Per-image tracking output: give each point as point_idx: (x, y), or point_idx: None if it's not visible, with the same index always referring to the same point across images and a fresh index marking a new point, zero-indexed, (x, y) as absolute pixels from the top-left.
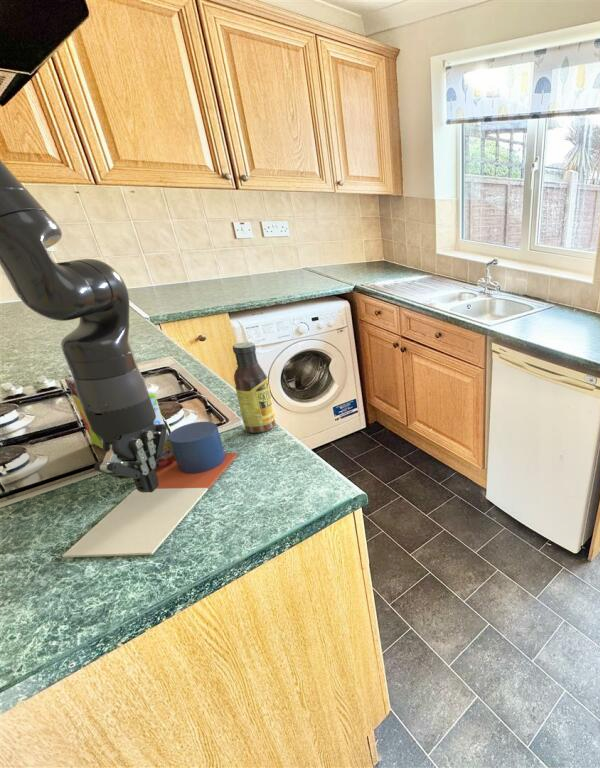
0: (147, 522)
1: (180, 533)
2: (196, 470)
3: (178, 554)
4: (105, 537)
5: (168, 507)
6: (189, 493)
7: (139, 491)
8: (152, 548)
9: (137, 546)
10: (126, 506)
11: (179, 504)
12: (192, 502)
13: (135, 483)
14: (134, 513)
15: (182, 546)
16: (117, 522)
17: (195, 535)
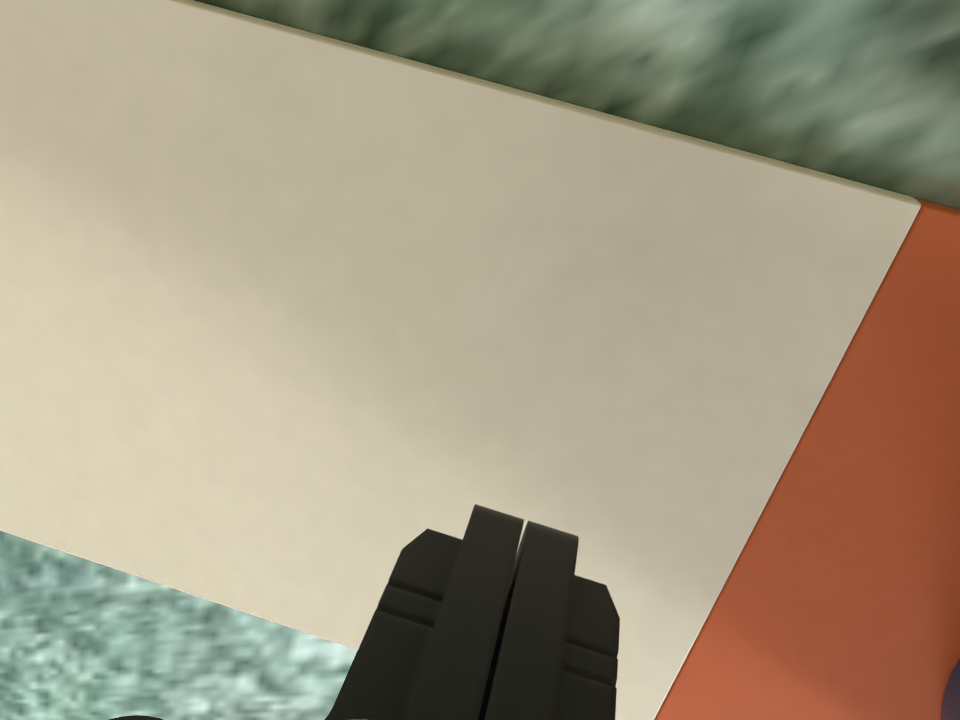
0: (282, 451)
1: (178, 618)
2: (957, 717)
3: (17, 625)
4: (138, 207)
5: None
6: None
7: (428, 530)
8: (30, 526)
9: (41, 449)
10: (565, 226)
11: None
12: None
13: (371, 628)
14: (426, 329)
15: (73, 635)
16: (318, 233)
17: (155, 681)
